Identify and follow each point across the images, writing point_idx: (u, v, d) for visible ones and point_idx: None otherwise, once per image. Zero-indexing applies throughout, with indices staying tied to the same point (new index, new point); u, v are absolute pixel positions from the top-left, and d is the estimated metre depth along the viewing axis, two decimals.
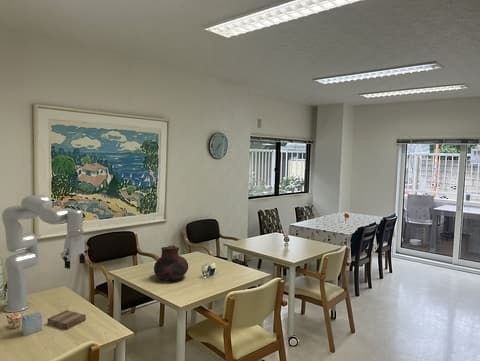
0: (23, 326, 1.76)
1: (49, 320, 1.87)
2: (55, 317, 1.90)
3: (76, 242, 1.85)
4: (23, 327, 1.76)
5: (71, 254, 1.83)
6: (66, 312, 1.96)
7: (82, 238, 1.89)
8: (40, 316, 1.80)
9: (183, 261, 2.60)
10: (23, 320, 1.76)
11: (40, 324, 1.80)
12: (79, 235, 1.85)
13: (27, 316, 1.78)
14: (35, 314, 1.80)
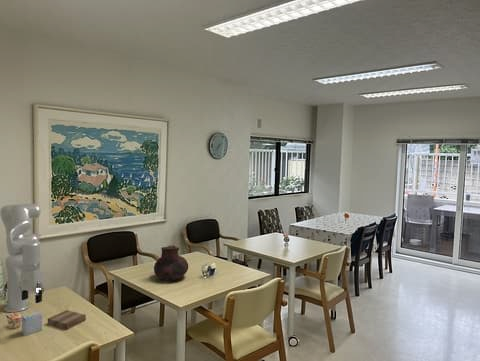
0: (23, 326, 1.76)
1: (49, 320, 1.87)
2: (55, 317, 1.90)
3: None
4: (23, 327, 1.76)
5: None
6: (66, 312, 1.96)
7: None
8: (40, 316, 1.80)
9: (183, 261, 2.60)
10: (23, 320, 1.76)
11: (40, 324, 1.80)
12: None
13: (27, 316, 1.78)
14: (35, 314, 1.80)
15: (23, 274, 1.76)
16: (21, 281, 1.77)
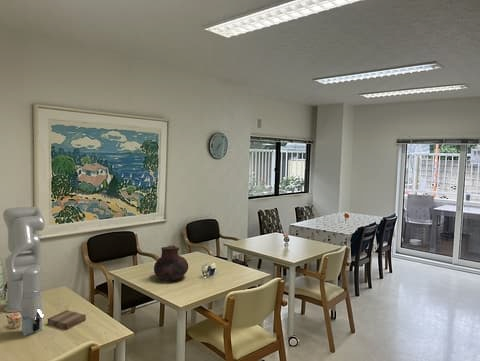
0: (23, 326, 1.76)
1: (49, 320, 1.87)
2: (55, 317, 1.90)
3: None
4: (23, 327, 1.76)
5: None
6: (66, 312, 1.96)
7: None
8: None
9: (183, 261, 2.60)
10: (23, 320, 1.76)
11: (40, 324, 1.80)
12: None
13: None
14: None
15: (23, 301, 1.77)
16: (21, 307, 1.78)
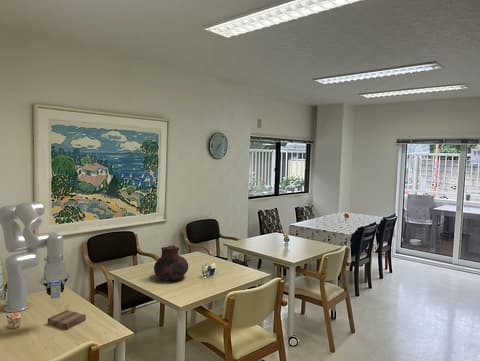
0: (56, 290, 1.82)
1: (49, 320, 1.87)
2: (55, 317, 1.90)
3: None
4: (56, 291, 1.82)
5: None
6: (66, 312, 1.96)
7: None
8: None
9: (183, 261, 2.60)
10: (56, 284, 1.82)
11: None
12: None
13: None
14: None
15: (52, 267, 1.82)
16: (50, 274, 1.81)
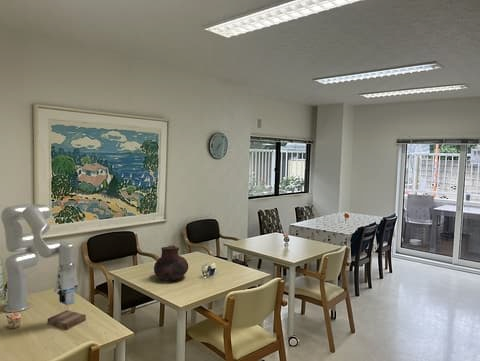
0: (71, 296, 1.88)
1: (49, 320, 1.87)
2: (55, 317, 1.90)
3: None
4: (71, 297, 1.88)
5: None
6: (66, 312, 1.96)
7: None
8: None
9: (183, 261, 2.60)
10: (71, 290, 1.87)
11: None
12: None
13: None
14: None
15: (67, 274, 1.86)
16: (65, 281, 1.85)
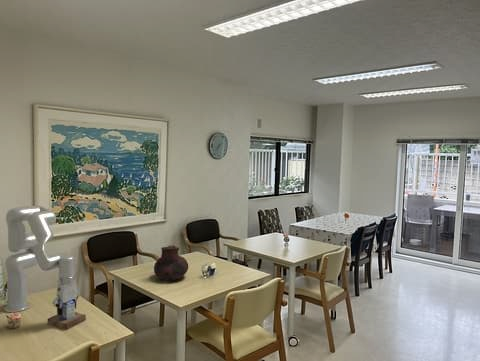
0: (71, 310, 1.88)
1: (49, 320, 1.87)
2: (55, 317, 1.90)
3: None
4: (71, 311, 1.88)
5: None
6: None
7: None
8: None
9: (183, 261, 2.60)
10: (71, 304, 1.88)
11: None
12: None
13: (68, 301, 1.89)
14: None
15: (67, 287, 1.87)
16: (65, 294, 1.85)
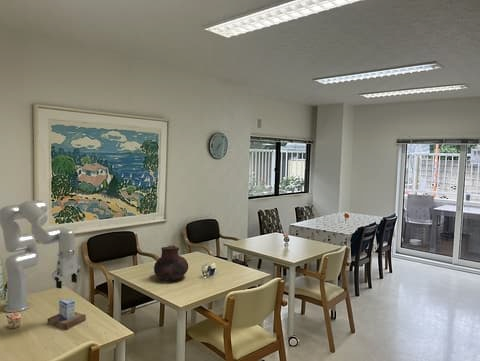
0: (71, 310, 1.88)
1: (49, 320, 1.87)
2: (55, 317, 1.90)
3: None
4: (71, 311, 1.88)
5: None
6: None
7: None
8: None
9: (183, 261, 2.60)
10: (71, 304, 1.88)
11: None
12: None
13: (68, 301, 1.89)
14: (66, 299, 1.91)
15: (67, 261, 1.86)
16: (65, 268, 1.85)
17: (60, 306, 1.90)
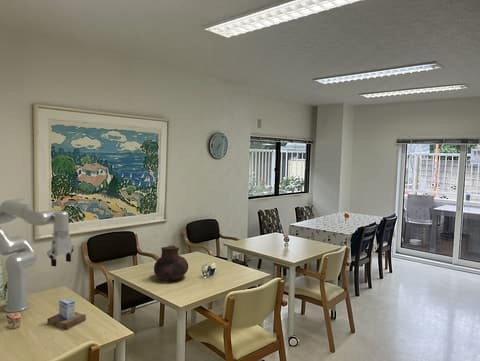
0: (71, 310, 1.88)
1: (49, 320, 1.87)
2: (55, 317, 1.90)
3: None
4: (71, 311, 1.88)
5: None
6: None
7: None
8: None
9: (183, 261, 2.60)
10: (71, 304, 1.88)
11: None
12: None
13: (68, 301, 1.89)
14: (66, 299, 1.91)
15: (61, 240, 1.96)
16: (59, 247, 1.95)
17: (60, 306, 1.90)
